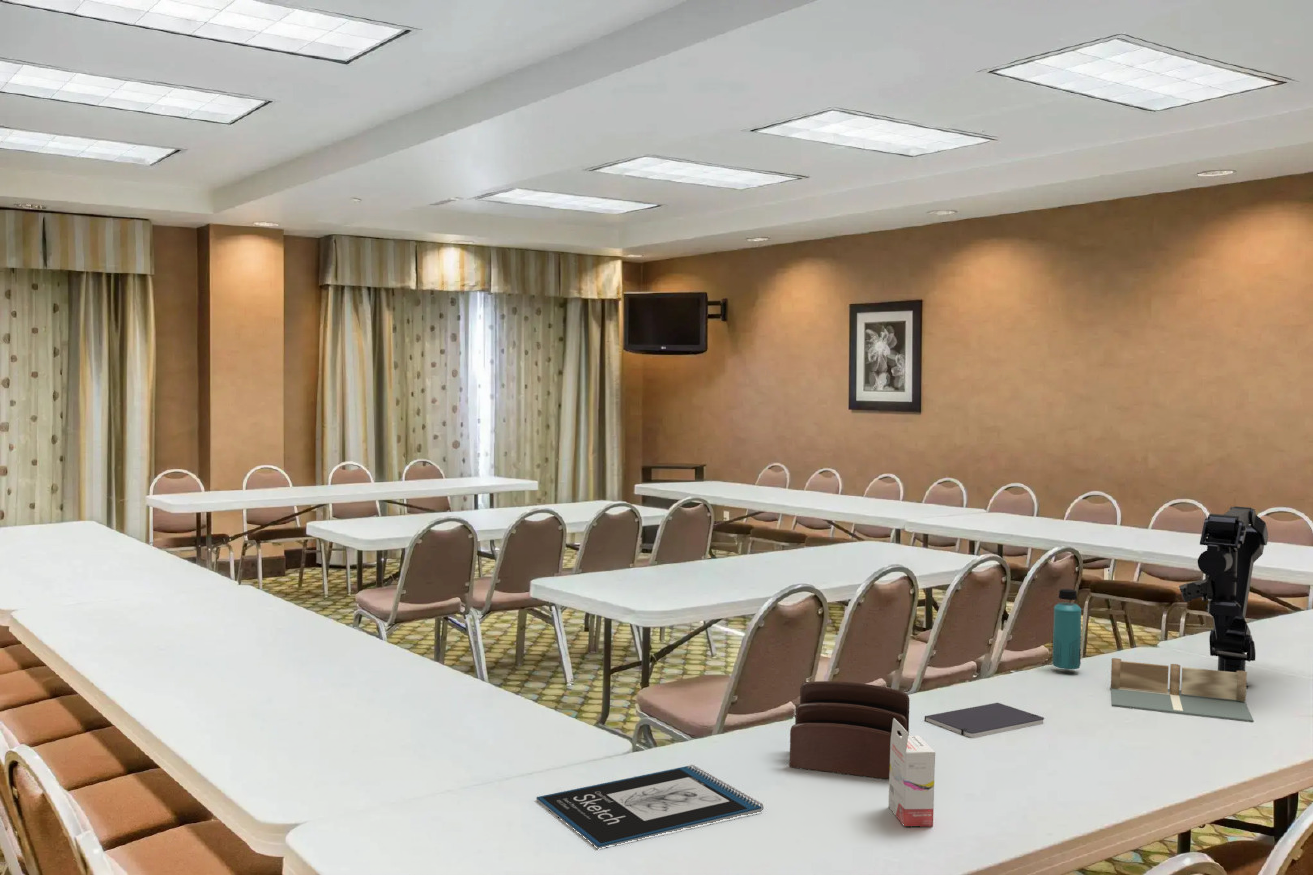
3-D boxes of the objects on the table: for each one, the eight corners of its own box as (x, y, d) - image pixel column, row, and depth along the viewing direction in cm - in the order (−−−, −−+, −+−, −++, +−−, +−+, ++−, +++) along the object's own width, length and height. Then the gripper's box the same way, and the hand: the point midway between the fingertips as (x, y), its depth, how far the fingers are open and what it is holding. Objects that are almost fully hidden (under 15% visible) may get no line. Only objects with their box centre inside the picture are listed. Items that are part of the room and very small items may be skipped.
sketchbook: (536, 805, 178) (536, 792, 178) (693, 774, 193) (693, 762, 193) (598, 854, 160) (598, 839, 160) (766, 815, 175) (766, 802, 175)
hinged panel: (1181, 694, 245) (1182, 666, 244) (1181, 692, 247) (1182, 664, 246) (1246, 701, 240) (1247, 673, 240) (1245, 699, 242) (1246, 671, 242)
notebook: (997, 709, 236) (924, 723, 225) (997, 702, 236) (924, 716, 225) (1046, 725, 225) (971, 741, 214) (1046, 718, 225) (971, 733, 214)
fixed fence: (1110, 688, 252) (1111, 657, 252) (1178, 695, 247) (1180, 664, 246) (1110, 690, 250) (1111, 659, 250) (1179, 697, 245) (1180, 666, 245)
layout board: (1110, 684, 255) (1111, 682, 255) (1242, 698, 245) (1242, 696, 245) (1111, 706, 238) (1111, 703, 238) (1253, 722, 228) (1253, 719, 228)
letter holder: (799, 751, 205) (801, 676, 204) (908, 764, 199) (910, 687, 198) (788, 768, 196) (790, 689, 195) (902, 783, 189) (905, 701, 189)
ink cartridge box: (935, 827, 170) (937, 733, 169) (903, 828, 170) (906, 733, 169) (917, 806, 179) (919, 716, 178) (887, 806, 178) (889, 716, 177)
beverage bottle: (1082, 676, 262) (1085, 592, 261) (1053, 674, 263) (1056, 591, 262) (1077, 669, 268) (1080, 587, 267) (1049, 667, 270) (1051, 586, 269)
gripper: (1179, 562, 258) (1176, 628, 259) (1185, 574, 241) (1182, 645, 241) (1233, 565, 254) (1230, 633, 254) (1242, 578, 236) (1239, 650, 237)
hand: (1219, 640), depth 247 cm, fingers closed
